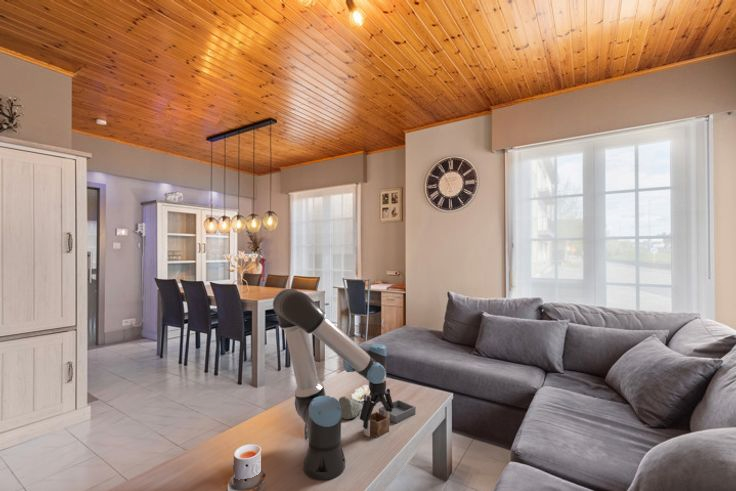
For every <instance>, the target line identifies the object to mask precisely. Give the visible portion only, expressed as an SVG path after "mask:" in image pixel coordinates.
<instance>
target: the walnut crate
mask: <svg viewBox="0 0 736 491" xmlns="http://www.w3.org/2000/svg"><path fill="white" fill-rule="evenodd" d="M366 418H367V417H366ZM369 421H370V435H373V436H374V437H376V438H379V437H382V436H384V435H386V434H387V433H389V432H390V421H389V418H388V417H386V416H384V415H382V414H380V413H379V411H374V412H372V413H371V415H370V418H369Z"/></svg>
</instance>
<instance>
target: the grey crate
mask: <svg viewBox="0 0 736 491" xmlns="http://www.w3.org/2000/svg"><path fill="white" fill-rule="evenodd" d="M392 403H393V406H394V408H393V409H392V412H390V418H389V423H390V422H391V423H393V424H395V425H397V424H398V423H401V422H403V421H404V420H407V419H409V418H411V417H413V416H415V415H416V410H417V409H416V406H415V405H412V404H409V403H408V402H405V401H403V400H400V399H397V400H395V401H392ZM384 410H386V409H385V408H384V406H383V405H382V406H380V407H378V413H380V414H382V415H384Z"/></svg>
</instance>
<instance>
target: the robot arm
mask: <svg viewBox="0 0 736 491" xmlns="http://www.w3.org/2000/svg"><path fill="white" fill-rule="evenodd" d="M274 296H275V297H274V298H273V302H272V308H273V309H272V310H273V312H274V313H275V314H276V315H277V321H278V324H279V328H280V329H281V330H284V332H285V338H286V342H287V346H288V352H289V356H290V360H291V364H292V369H293V374H294V377H295V378H294V379H295V384H296V388H295V389H294V391H293V392H294V397H295V398H294V407H295V411H296V413H297V415H298V416H299V417H300V418H301V419H302V421H303V422H304V424H305V425H306V427H307V428H308V446H307V450H306V453H305V457H304V460H303V465H302V466H303V468H302V469H303V472H304V474H305V475H306V476H307V477H308V478H310V479H313V480H317V481H326V480H331V479H334V478H336V477H339V476H340V475H341V474H343V472H344V471H345V468H346V457H345V454H344V450H343V447H342V443H341V441H342V440H341V439H342V436H341V434H342V417H341V415H342V412H341V405H340V403H339V399H337V398H335V397H334V396H330V395H326V392H325V387H324V382H322V381H320V380H319V378H318V373H317V368H316V364H315V358H314V354H313V350H312V345H311V339H310V334H312V335H314V336H315V337H316V338H317V339H318V340H319V341H321V342H322V343H323V344H324V345H325V346H326V347H327V348H328V349H330V350H331V351H332V352H334V353H335V354H336V355H337V356H339V358H341V359H342V365H343V368H344V370H345V372H347V373H353V372H354V373H355V372H356V373H357V374H358V375H360V376H362V377H363V378H364V379H366V380H367V381H368V390H369V394H368V395H367V394H365V395H364V396H363V403H362V406H363V407H362V411H361V412H360V415H359V420H360V421H362V422H363V426H362V427H363V428H364V430H363V434H364V435H365V436H366V437H368V438H369V437H370V436H371V433H370V421H369V418H370V415H371V414H372V413H373V411H374V408H375V406H377V404H378V403H381V404H382V407H383V406H384V408H385V409H386V410H384V416H386V417H388V418H390V412H392V409H393V408H394V406H393V403H392V402H393V400H392V396H391V389H390V388H388V387H387V381H386V380H387V356H388V355H387V348H386V345H385V344H383V343H373V344H370V345H369V348H368V350H364V349H363V348H362V347H360V346H359V345H358V344H357V343H356V342H355V341H353V340H352V338H350V337H349V336H348V335H347V334H346V333H344V331H343V330H341V329H340V328H339V327H338V326H337V325H335V323H333V322H332V321H331V320H330V319H329V318H328V317H326V316H327V315H326V312H325V311H324V310H323V309H322V308H320V306H318V304H317V303H316V302H315V301H314V300H313V299H312V298H311V297H310V296H309V294H306V293H304V291H303V292H302V291H299V290H297V289H295V288H285V289H282V290H280V291H278V292H277V294H276V295H274ZM366 417H367V418H366Z"/></svg>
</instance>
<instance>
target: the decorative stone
mask: <svg viewBox="0 0 736 491" xmlns="http://www.w3.org/2000/svg"><path fill="white" fill-rule="evenodd" d="M338 401H339V403H340V405H341V412H342V415H341V419H343V420H351V419H353V418H356V417H357V416H358V415H359V414H361V411H362V407H363V403H361V402H357V401H356V400H352V399H351V398H349V397H346V396H340V397H339V398H338Z"/></svg>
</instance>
